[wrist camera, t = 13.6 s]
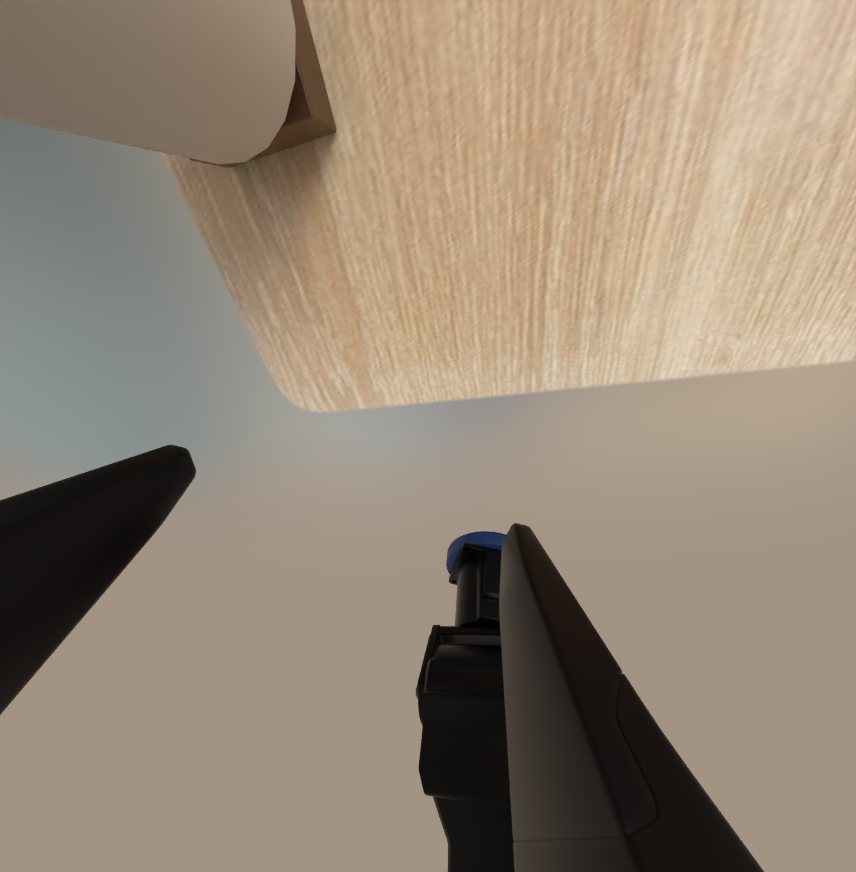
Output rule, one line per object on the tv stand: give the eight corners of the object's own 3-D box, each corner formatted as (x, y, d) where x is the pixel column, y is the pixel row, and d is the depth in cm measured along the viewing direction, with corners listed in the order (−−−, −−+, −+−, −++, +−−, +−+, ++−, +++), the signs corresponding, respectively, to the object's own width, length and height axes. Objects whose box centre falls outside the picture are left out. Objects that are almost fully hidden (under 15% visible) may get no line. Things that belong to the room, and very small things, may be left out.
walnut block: (337, 132, 14) (313, 116, 12) (228, 168, 15) (189, 160, 13) (275, -104, 11) (228, -180, 9) (143, -31, 12) (74, -82, 10)
